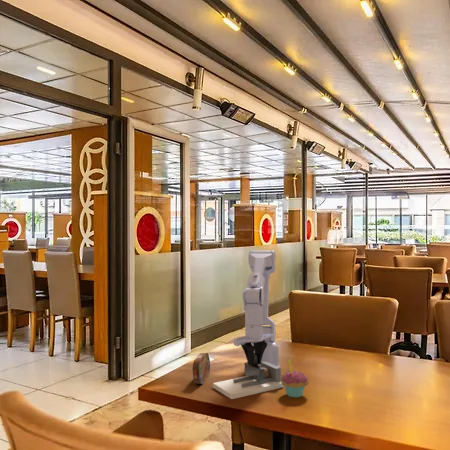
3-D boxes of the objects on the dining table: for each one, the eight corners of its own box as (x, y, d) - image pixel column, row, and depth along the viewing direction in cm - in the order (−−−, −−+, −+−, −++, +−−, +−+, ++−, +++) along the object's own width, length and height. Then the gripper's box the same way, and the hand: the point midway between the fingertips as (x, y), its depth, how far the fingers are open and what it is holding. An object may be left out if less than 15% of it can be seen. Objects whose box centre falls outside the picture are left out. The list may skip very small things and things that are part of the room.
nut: (260, 380, 157) (266, 370, 158) (267, 383, 153) (273, 373, 155) (252, 373, 155) (259, 363, 157) (259, 377, 152) (266, 366, 153)
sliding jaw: (250, 373, 158) (249, 349, 158) (265, 380, 150) (264, 356, 150) (244, 374, 156) (243, 351, 156) (259, 382, 149) (258, 357, 149)
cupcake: (291, 401, 139) (290, 362, 139) (275, 392, 147) (275, 355, 147) (313, 396, 143) (313, 358, 143) (297, 387, 151) (297, 351, 151)
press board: (262, 376, 162) (262, 359, 162) (283, 387, 152) (283, 369, 152) (213, 387, 152) (212, 369, 152) (231, 399, 142) (231, 379, 142)
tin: (200, 387, 152) (200, 362, 152) (191, 387, 153) (190, 361, 153) (210, 373, 167) (210, 350, 167) (202, 372, 168) (202, 349, 168)
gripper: (241, 328, 146) (242, 371, 146) (278, 323, 153) (279, 364, 153) (230, 324, 152) (230, 365, 152) (266, 319, 159) (266, 358, 159)
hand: (254, 364), depth 153 cm, fingers closed on sliding jaw, 2 cm apart
